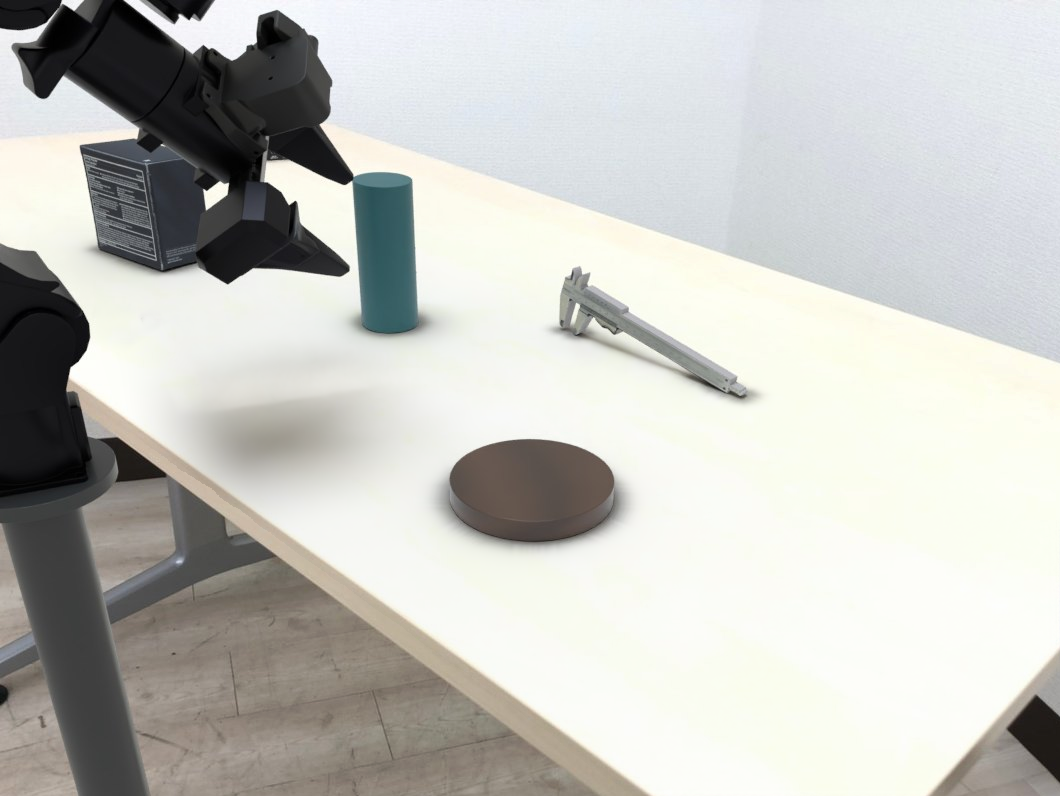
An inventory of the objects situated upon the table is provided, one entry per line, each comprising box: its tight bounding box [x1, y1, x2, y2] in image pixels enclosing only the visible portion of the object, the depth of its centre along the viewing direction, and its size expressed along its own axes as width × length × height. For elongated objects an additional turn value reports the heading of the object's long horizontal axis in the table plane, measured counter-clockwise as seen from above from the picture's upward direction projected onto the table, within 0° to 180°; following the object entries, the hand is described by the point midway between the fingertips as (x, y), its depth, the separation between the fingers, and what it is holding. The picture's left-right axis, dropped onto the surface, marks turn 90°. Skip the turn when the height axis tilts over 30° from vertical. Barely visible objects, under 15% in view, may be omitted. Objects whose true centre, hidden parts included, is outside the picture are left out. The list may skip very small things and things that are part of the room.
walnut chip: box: [448, 438, 615, 542], centre depth 70 cm, size 11×11×2 cm
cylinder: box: [351, 171, 419, 334], centre depth 92 cm, size 5×5×13 cm
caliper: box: [558, 265, 749, 397], centre depth 90 cm, size 20×1×6 cm, turn 52°
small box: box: [79, 137, 207, 271], centre depth 104 cm, size 11×6×10 cm, turn 58°
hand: (347, 225), depth 76 cm, fingers open, 9 cm apart
